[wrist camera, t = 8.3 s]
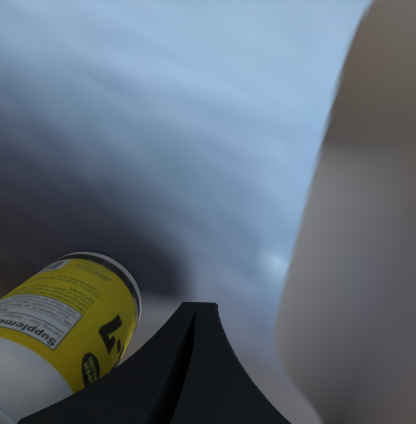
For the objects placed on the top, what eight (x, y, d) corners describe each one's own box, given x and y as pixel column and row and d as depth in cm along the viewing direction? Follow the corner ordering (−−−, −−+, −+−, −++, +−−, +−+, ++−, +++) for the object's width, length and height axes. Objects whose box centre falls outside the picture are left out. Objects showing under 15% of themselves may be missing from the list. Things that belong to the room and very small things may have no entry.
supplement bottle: (131, 354, 14) (0, 644, 6) (36, 325, 14) (-219, 577, 6) (155, 266, 13) (28, 486, 5) (51, 234, 13) (-248, 402, 5)
